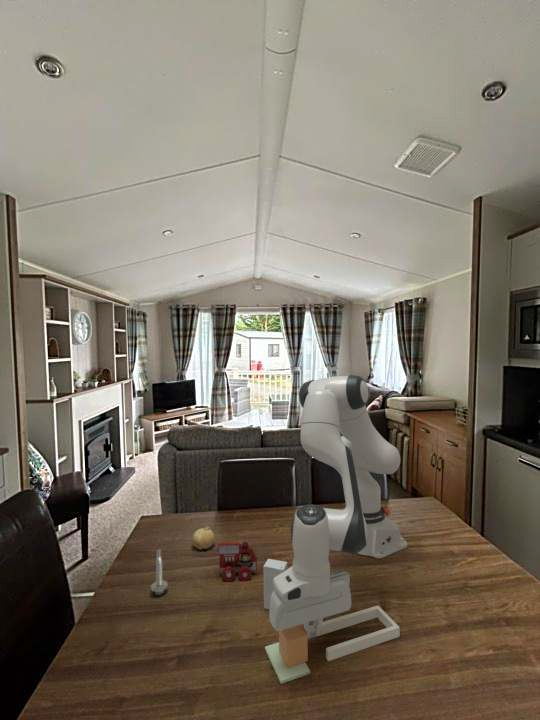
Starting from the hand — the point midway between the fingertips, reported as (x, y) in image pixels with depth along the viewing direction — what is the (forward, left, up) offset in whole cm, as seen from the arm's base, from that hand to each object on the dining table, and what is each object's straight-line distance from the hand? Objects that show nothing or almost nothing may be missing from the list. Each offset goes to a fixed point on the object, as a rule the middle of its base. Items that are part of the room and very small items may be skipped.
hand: (311, 635), depth 88 cm
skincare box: (+2, -18, -4) cm, 19 cm away
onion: (+15, -57, -4) cm, 59 cm away
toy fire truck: (+8, -36, -4) cm, 37 cm away
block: (+5, 0, -3) cm, 6 cm away
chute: (-12, 0, -4) cm, 13 cm away
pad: (+5, 0, -4) cm, 6 cm away
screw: (+32, -36, -4) cm, 48 cm away
